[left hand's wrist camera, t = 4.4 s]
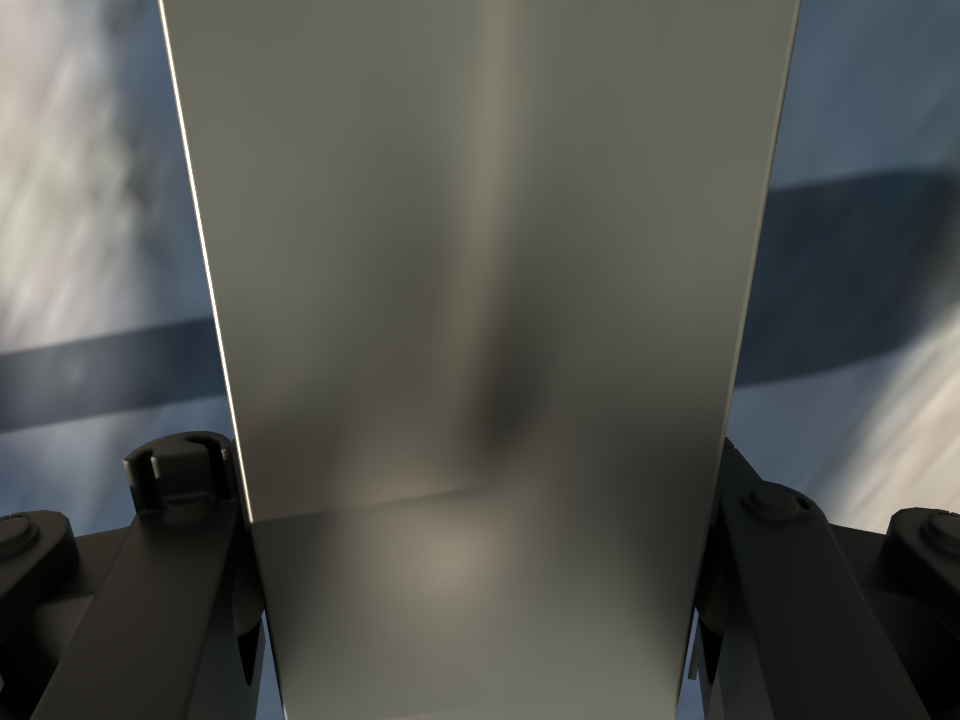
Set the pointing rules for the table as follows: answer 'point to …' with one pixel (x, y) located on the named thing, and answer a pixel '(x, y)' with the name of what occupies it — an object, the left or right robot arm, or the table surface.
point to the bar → (479, 330)
